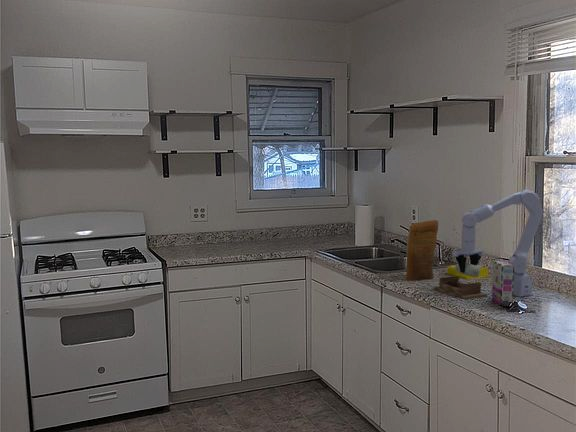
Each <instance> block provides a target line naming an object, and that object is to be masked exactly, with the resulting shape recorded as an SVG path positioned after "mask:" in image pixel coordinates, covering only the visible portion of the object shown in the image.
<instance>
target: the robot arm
mask: <svg viewBox="0 0 576 432" xmlns="http://www.w3.org/2000/svg"><path fill="white" fill-rule="evenodd" d="M521 204H522V205H523V206H524V207H525V208H526V211H528V213H529V215H528V217H527V220H526V223H525V225H524V229H523V231H522V234H521V235H520V239H519V241H518V244H517V245H516V246H517V247H516V248H515V251H514V252H513V254H512V256H511V257H509V259H508V260H507V261H508V263H510V264H512V265H514V283H513V296H515V297H518V298H519V297H520V298H521V297H526V296H533V295H534V293H533V279H532V277H531V276H530V275H528V273H527V271H526V270H527V267H528V265H527V261H528V259H529V252H530V250H531V247H532V244H533V241H534V240H535V235H536V233H537V231H538V229H539V226H540V223H541V220H542V219H543V215H544V210H543V207H542V203H541V199H540V197H539V195H538V194H537V193H536V192H534V191H532V190H531V189H523V190H521V191H519V192H516V193H515V192H514V193H512V194H510V195H509V196H506V197H504V198H502V199H501V200H499V201H496V202H495V203H493V204H488V203H486V204H481V205H480V207H478V208H475V209H474V210H473V209H470V212H466V213H464V214H463V215H462V216H461V222H462V227H461V228H462V229H461V249H460V250H457V251H456V250H455V251H453V252H452V257H455V260H456V262H457V263H458V264H459V268H460V272H462V273H465V264H466V263H467V259H468V257H469V262H470V263H469V264H472V265H476V266H477V265H478V264H479V262H480V260H481V259H482V255H484V250H483V249H476V239H477V238H476V237H477V235H476V234H477V233H476V232H477V231H476V225H477V223H481V222H483V221H486V220H488V219H490V218H492V217H493V216H494V214H495V212H498V211H500V210H502V209H505V208H506V207H507V208H508V207H509V206H512V205H521ZM466 256H468V257H466Z"/></svg>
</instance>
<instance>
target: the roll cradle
mask: <svg viewBox="0 0 576 432" xmlns="http://www.w3.org/2000/svg"><path fill="white" fill-rule="evenodd" d="M459 279H460V277H459V276H451V275H449V276H443V277H439V286H433V290H435V291H437V292H441V293H444V294H447V295H450V296H452V297H455V298H459V299H461V300H470V299H478V298H484V297H485V298H487V297H488V293H485V292H482V283H481V282H479V281H477V282H470V283H464V282H460V280H459Z"/></svg>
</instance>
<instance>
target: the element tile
mask: <svg viewBox="0 0 576 432" xmlns="http://www.w3.org/2000/svg"><path fill="white" fill-rule="evenodd" d="M477 266H478V267H479V268H480V274H479V275H478V276H477V277H471V276H468V275H465V274H461V273H458V272H457V271H456V264H452V265H447V266H446V267H447V269H446V275H448V276H459V279H466V280H474V279H480V278H485V277H489V274H490V273H489V267H487V266H482V265H478V264H477Z"/></svg>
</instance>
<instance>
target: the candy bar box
mask: <svg viewBox="0 0 576 432" xmlns="http://www.w3.org/2000/svg"><path fill="white" fill-rule="evenodd" d="M492 262H493V264H492V285H491V286H492V287H491V288H492V289H491V301H493V302H494V303H495V304H497V305H498V306H500V305H501V303H502V301H508V302H513V301H514V295H513V283H514V265H512V264H510V263H508V262H507V261H505V260H492ZM513 303H514V302H513Z"/></svg>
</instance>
